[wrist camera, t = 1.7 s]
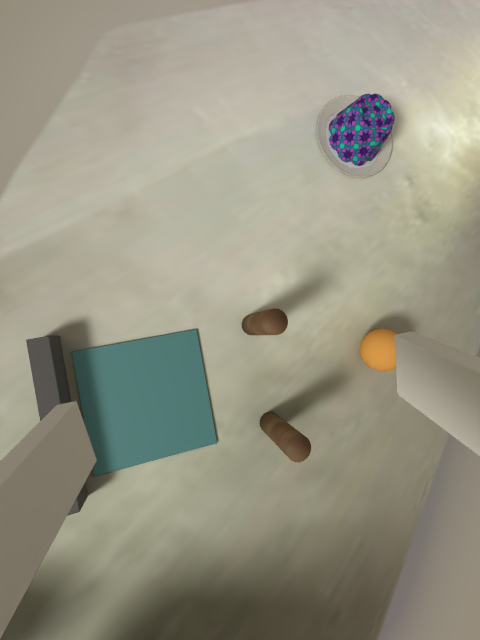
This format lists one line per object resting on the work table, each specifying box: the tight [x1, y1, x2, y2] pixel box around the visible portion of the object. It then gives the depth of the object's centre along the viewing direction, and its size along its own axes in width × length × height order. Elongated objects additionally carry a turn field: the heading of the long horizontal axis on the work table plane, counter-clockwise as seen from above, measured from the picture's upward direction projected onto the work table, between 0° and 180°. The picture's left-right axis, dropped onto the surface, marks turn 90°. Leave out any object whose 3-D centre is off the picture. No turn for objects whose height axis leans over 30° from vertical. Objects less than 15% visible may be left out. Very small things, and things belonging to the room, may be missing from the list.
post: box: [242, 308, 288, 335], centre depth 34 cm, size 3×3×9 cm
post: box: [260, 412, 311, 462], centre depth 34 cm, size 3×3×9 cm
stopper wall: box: [26, 336, 88, 515], centre depth 31 cm, size 18×2×3 cm, turn 11°
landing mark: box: [72, 330, 217, 476], centre depth 35 cm, size 14×14×1 cm
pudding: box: [317, 94, 395, 177], centre depth 41 cm, size 12×12×5 cm
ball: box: [360, 329, 397, 371], centre depth 39 cm, size 6×6×6 cm
